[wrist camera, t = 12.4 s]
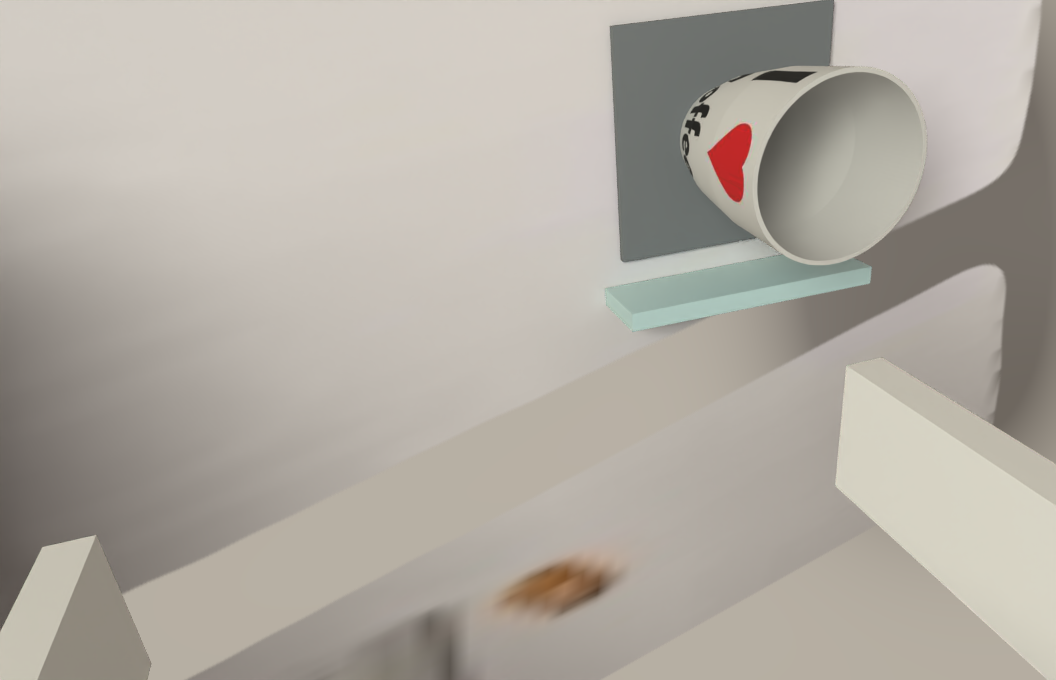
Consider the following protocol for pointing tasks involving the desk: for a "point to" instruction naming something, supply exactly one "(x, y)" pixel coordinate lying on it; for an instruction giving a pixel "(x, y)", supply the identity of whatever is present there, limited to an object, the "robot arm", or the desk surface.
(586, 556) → the desk surface
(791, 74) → the cup
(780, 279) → the wall
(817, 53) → the mat
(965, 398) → the desk surface
